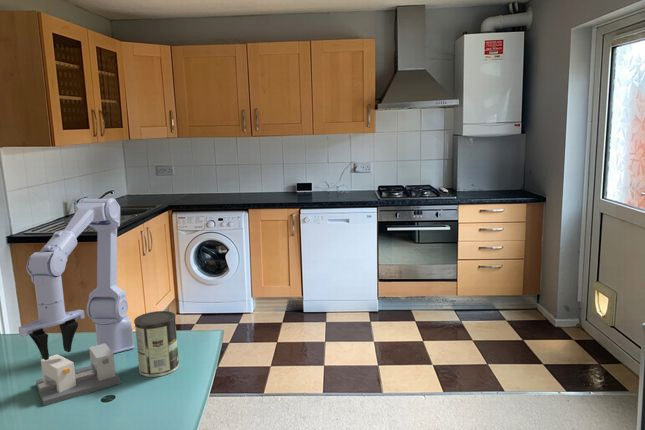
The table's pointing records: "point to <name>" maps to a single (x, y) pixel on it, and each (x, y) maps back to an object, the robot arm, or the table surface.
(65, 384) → the block
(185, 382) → the table surface
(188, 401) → the table surface
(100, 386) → the rail board
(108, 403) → the table surface
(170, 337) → the coffee can
